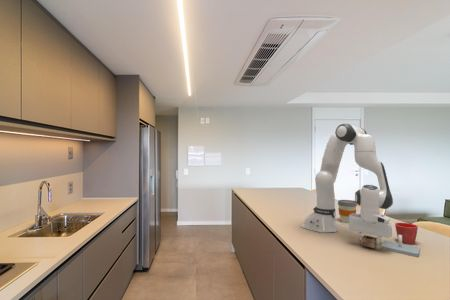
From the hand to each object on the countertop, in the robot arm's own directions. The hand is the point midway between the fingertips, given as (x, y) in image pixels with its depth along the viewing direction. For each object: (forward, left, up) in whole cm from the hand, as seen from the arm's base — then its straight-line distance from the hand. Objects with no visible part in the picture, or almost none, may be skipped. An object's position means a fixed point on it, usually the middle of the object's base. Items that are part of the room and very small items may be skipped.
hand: (369, 241), depth 137 cm
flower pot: (+14, +25, -3) cm, 29 cm away
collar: (0, 0, -2) cm, 2 cm away
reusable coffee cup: (-24, +49, -3) cm, 54 cm away
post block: (+13, +8, -3) cm, 15 cm away
